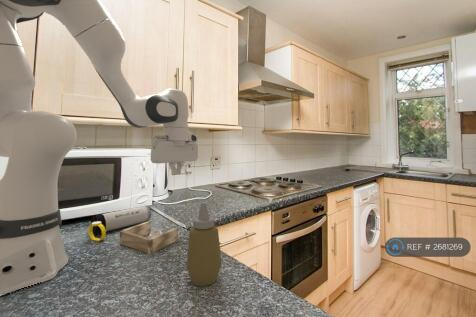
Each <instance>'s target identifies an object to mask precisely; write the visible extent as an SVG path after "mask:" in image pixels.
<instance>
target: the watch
mask: <svg viewBox="0 0 476 317" xmlns="http://www.w3.org/2000/svg"><path fill="white" fill-rule="evenodd" d="M93 226H98V227H100V229H101V231H102V232H101V237H100V238H98V237H95V236H96V235H93V232H92V229H93ZM87 231H88V232H87V234H88V237H89V239H90V240H91V241H94V242H100V241H101V242H102V241H103V240H104V239H105V238H106V237H107V235H106V234H107V231H106V230H105V227H104V226H103V225H102V223H101V221H97V222H93V223H92V225H91V224H90V225H89V227H88V230H87Z"/></svg>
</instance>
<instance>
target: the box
mask: <svg viewBox="0 0 476 317" xmlns="http://www.w3.org/2000/svg"><path fill="white" fill-rule="evenodd" d="M151 226H152V224H151V221H150V220H149V221H146V222H142V223H138V224H135V225H132V226H130V227H128V228H125V229H122V230H119V244H121V245H122V246H126V247H128V248H132V249H135V250H137V251H140V252H142V253H146V254H148V255H151V254H153V253H155V252H157V251H159V250H162V249H163V248H165V247H167V246H169V245H172V244H173V243H175V242H177V241H179V234H178V233H179V231H178V230H179V229H178V227H174V228H172V229H169V230H167V231H165V232H162V234H160V235H157V236H155V237H153V238H148V236H147V237H146V235H148V234H149V235H150V234H151V231H152V229H151V228H152V227H151Z"/></svg>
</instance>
